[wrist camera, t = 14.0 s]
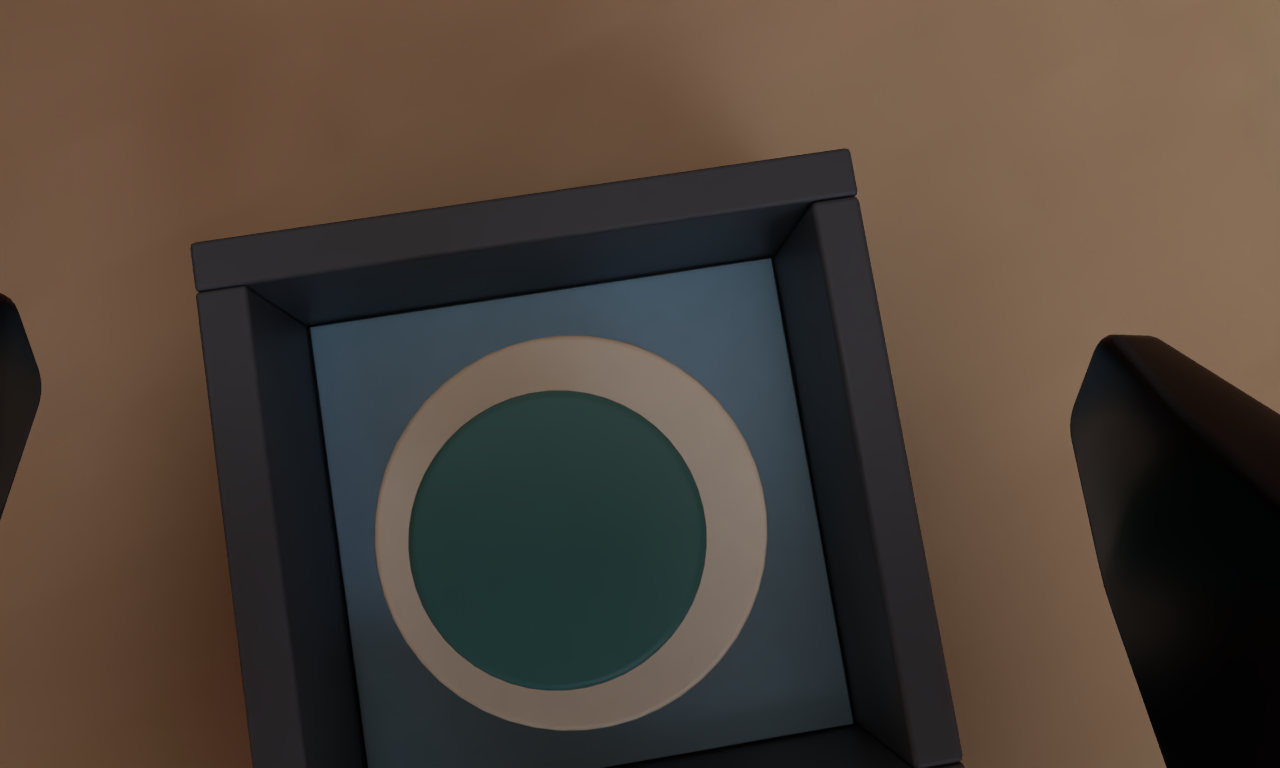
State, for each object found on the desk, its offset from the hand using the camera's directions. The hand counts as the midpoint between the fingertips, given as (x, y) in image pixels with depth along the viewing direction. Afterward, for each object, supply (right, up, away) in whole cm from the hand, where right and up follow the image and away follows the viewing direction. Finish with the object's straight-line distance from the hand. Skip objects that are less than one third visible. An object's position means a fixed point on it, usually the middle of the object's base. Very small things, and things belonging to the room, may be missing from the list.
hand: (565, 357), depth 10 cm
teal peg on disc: (-1, -3, +12) cm, 12 cm away
